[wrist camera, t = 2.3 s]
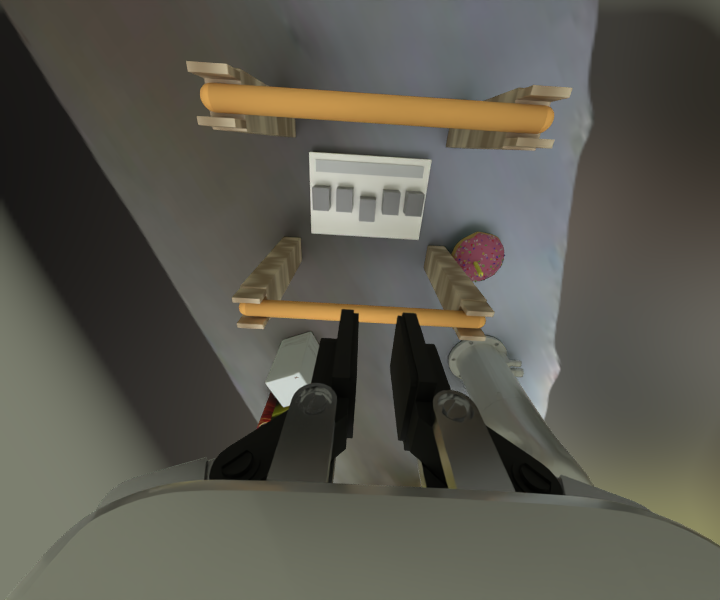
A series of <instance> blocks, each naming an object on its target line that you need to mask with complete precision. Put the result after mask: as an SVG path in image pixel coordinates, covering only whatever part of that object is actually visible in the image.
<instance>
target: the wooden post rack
mask: <svg viewBox="0 0 720 600" xmlns="http://www.w3.org/2000/svg"><path fill="white" fill-rule="evenodd" d="M186 63H187V68H188V72H191V73H193V74H195V75H198V76H200V77H202V78H204V79H205V84H206V83H224V84H239V85H254V86H267V85H265V84H264V83H262V82H261V81H259V80H257V79H256V78H254V77H252V76H251V75H249V74H248V73H246V72H244V71H243V70H241V69H239V68H233V67H231V66H229V65H228V64H220V63H205V62H191V61H186ZM268 87H269V86H268ZM571 91H572V88H567V87H552V86H538V85H533V86H530V87H527V88H517V89H514V90H511V91H509V92H506V93H503V94H501V95H498V96H495V97H493V98H490V99H487V100H485V101H488V102H503V103H518V104H532V105H546V106H550V103H551V102H553V101H557V100H561V99H566V98H569V97H570V94H571ZM210 114H211V117H203V116H197V120H198V125H203V126H211V127H213V129H215V130H224V131H234V132H243V133H252V134H262V135H271V136H284V137H296V131H295V118H288V117H273V116H258V115H243V114H228V113H215V112H212V111H210ZM540 134H541V133H539V134H529V133H514V132H499V131H484V130H469V129H454V128H449V132H448V138H447V143H446V147H451V148H468V149H502V150H535V149H536V148H552V146H553V143H554V140H550V139H539V137H540ZM301 261H302V254H301V238H297V237H283V238H282V240H281V241H280V242H279V243H278V244H277V245H276V246H275V247H274V249H273V250H272V251H271V252H270V253H269V254H268V255H267V256H266V258H265V259H264V260H263V261H262V262H261V263H260V264H259V266H258V267H257V268H256V269H255V270H254V271H253V272H252V273H251V275H250V276H249V277H248V278H247V279H246V280H245V281H244V282H243V284H242V285H241V286H240V287H241V288H240V289H239V290H238V291H237V292H236V293H235V295H234V296H233V297H232V300H233V302H237V303H254V304H260V303H261V302H262V300H281V298H282V296H283V294H284V292H285V291H286V289H287V287H288V285H289V283H290V281H291V280H292V278H293V276H294V274H295V272H296V270H297V269H298V267H299V265H300V263H301ZM424 270H425V272H426V274H427V276H428V278H429V280H430V282H431V284H432V286H433V288H434V290H435V292H436V294H437V297H438V299H439V301H440V303H441V305H442V307H443V309H444V310H457V311H464V312H465V314H466V316H484V317H493V316H494V313H495V312H494V311H493V310H492V308H491V307H490V306H489V305H488V303H487V302H486V301H487V300H486V299H485V297H484V296H483V295H482V294H481V292H480V291H479V290H478V289H477V287H476V286H475V285H474V283H473V282H472V281H471V280H470V278H469V277H468V276H467V275H466V273H465V272H464V271H463V269H462V268H461V267H460V266H459V264H458V263H457V262H456V261H455V259H454V258H453V257H452V256H451V254H450V253H449V252H448V250H447V249H446V248H445V247H444V246H430V245H428V247H427V253H426V258H425V264H424ZM270 318H271V317H262V316H246V315H244V314H243V316H242V317H241V318H240V320H239V321H238V322H237V326H238V328H254V329H264V327H265V326H266V324H267V322H268V320H269V319H270ZM452 328H453V329H454V330H455V332H456V334H457V336H458V338H459V340H471V341H485V339H486V336H485V335H484V333H483V332H482V330H481V328H459V327H452Z"/></svg>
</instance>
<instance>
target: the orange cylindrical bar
mask: <svg viewBox="0 0 720 600" xmlns="http://www.w3.org/2000/svg"><path fill="white" fill-rule="evenodd" d="M342 309H352V310H354V313H359V322H369V323H387V324H396V322H397V316H398V315H399V316H402V313H403V312H405V313H416V314H417V318H418V321H419V324H420V325H423V326H441V327H459V328H481V327H483V326H484V324H485V322H486V319H485V317H484V316H466V314H465V312H464V311H457V310H439V309H421V308H404V307H386V306H369V305H351V304H334V303H316V302H298V301H281V300H262V302H261V303H260V304H254V303H240V305H239V310H240V312H241V313H242V314H244V315H246V316H262V317H280V318H298V319H316V320H334V321H340V316H341V310H342Z"/></svg>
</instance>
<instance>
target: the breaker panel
mask: <svg viewBox="0 0 720 600" xmlns="http://www.w3.org/2000/svg"><path fill="white" fill-rule="evenodd" d="M431 161H432V160H429V159H417V158H401V157H386V156H370V155H355V154H340V153H324V152H309V164H310V198H311V232H312V233H315V234H332V235H348V236H365V237H381V238H398V239H414V240H419V234H420V228H421V221H422V215H423V209H424V203H425V197H426V191H427V185H428V179H429V173H430V167H431Z"/></svg>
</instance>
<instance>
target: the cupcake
mask: <svg viewBox="0 0 720 600" xmlns="http://www.w3.org/2000/svg"><path fill="white" fill-rule="evenodd" d="M451 256H452V257H453V258H454V259H455V261H456V262H457V263H458V264H459V266H460V267H461V268H462V269H463V271H464V272H465V273H466V275H467V276H468V277H469V278H470V280H471V281H472V282H473V281H475V282H476V281H482V280H485V279H486V278H489V277H491V276H492V275H494V274H495V273H496V272H497V270H498V269H499V268H500V267H501V265H502V263H503V260H504V256H505V255H504V248H503V245H502V243H501V241H500V239H499V238H498V237H497V236H495V235H492V234H488V233H484V232H475V233H473V234H471V235H469V236H467V237H465V238H464V239H462V240H461V241H459V242H458V243H457V244H456V246H455V247H454V249H453V252H452V254H451Z"/></svg>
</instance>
